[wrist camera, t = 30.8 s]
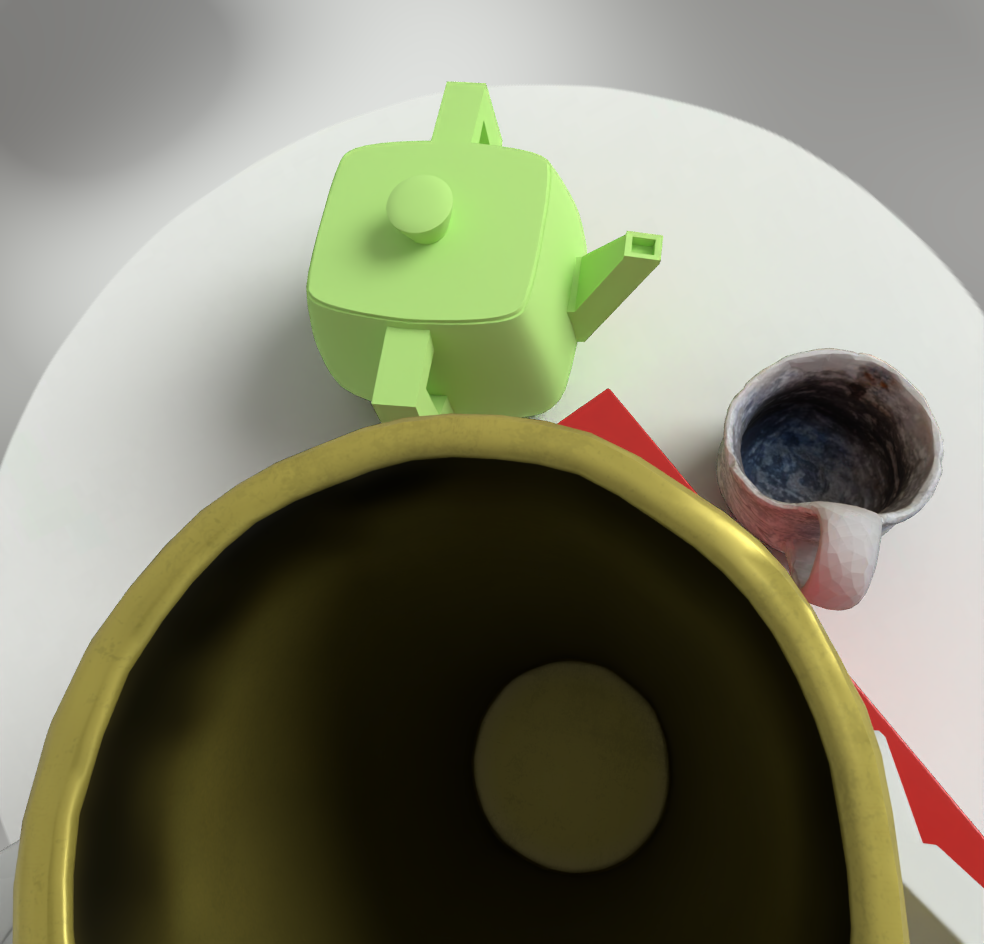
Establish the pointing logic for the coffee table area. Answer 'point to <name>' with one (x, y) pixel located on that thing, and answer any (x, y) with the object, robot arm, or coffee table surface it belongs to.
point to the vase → (461, 718)
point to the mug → (828, 465)
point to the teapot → (460, 272)
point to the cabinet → (923, 792)
